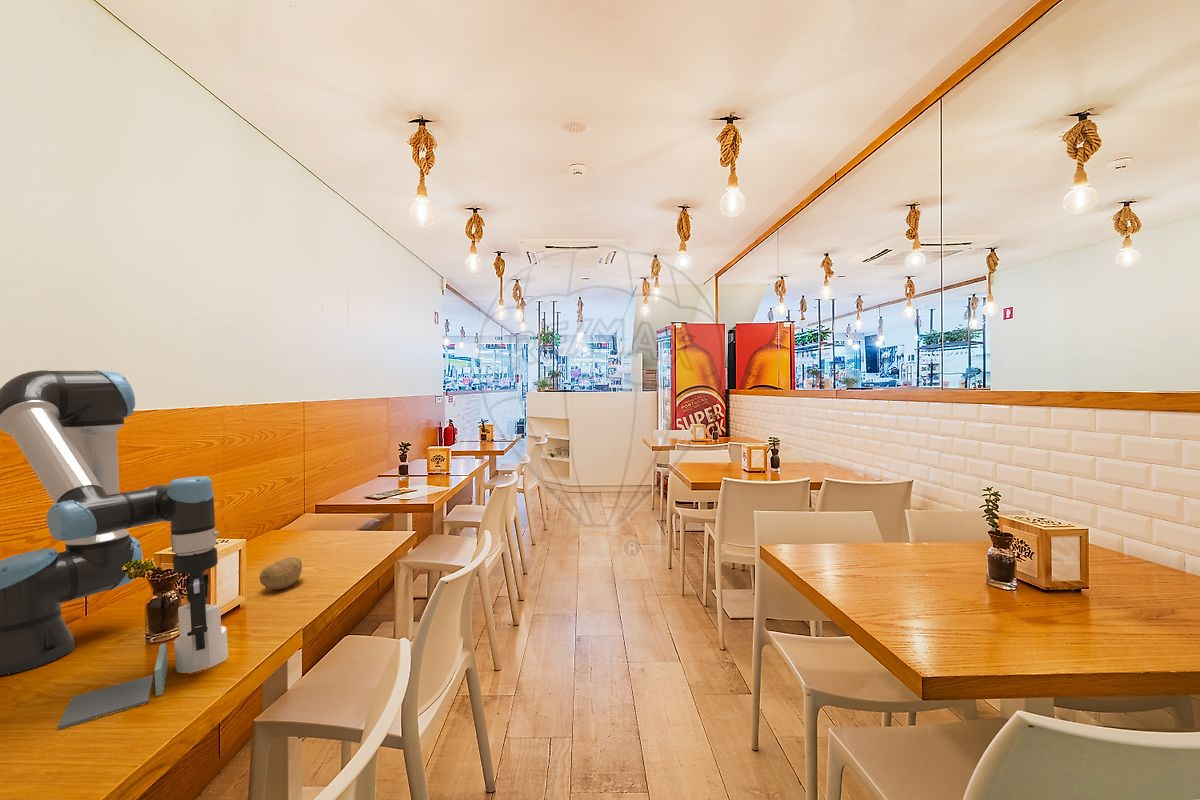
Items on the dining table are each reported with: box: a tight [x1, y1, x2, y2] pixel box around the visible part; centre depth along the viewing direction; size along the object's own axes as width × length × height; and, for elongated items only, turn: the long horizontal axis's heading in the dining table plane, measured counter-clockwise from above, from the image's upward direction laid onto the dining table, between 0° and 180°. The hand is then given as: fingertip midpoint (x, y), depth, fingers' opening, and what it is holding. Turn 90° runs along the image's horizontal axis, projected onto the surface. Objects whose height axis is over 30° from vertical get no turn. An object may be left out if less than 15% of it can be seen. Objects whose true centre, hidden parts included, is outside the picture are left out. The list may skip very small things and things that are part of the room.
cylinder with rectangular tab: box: [173, 602, 229, 674], centre depth 116 cm, size 9×9×12 cm
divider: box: [153, 643, 169, 697], centre depth 109 cm, size 1×14×5 cm, turn 35°
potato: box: [259, 557, 303, 590], centre depth 162 cm, size 10×14×8 cm
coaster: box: [57, 674, 155, 730], centre depth 102 cm, size 12×12×1 cm
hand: (202, 654), depth 116 cm, fingers open, 10 cm apart
